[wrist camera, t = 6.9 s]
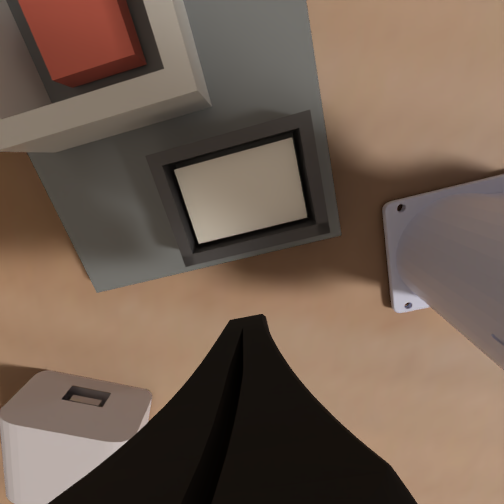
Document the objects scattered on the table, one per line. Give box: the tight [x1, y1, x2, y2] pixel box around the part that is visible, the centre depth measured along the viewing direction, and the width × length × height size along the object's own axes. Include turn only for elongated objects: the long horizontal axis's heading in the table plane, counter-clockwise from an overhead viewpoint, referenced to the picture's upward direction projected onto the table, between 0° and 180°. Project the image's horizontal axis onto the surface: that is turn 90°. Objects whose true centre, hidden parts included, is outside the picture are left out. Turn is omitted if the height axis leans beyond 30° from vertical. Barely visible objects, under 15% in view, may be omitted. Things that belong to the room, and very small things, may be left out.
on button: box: [174, 138, 307, 244], centre depth 14 cm, size 6×4×1 cm, turn 104°
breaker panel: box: [0, 0, 341, 293], centre depth 13 cm, size 16×18×5 cm
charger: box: [0, 370, 152, 504], centre depth 23 cm, size 5×9×15 cm
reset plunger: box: [18, 0, 147, 88], centre depth 12 cm, size 4×4×1 cm
